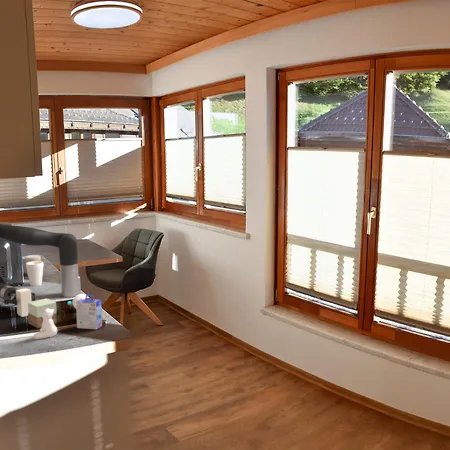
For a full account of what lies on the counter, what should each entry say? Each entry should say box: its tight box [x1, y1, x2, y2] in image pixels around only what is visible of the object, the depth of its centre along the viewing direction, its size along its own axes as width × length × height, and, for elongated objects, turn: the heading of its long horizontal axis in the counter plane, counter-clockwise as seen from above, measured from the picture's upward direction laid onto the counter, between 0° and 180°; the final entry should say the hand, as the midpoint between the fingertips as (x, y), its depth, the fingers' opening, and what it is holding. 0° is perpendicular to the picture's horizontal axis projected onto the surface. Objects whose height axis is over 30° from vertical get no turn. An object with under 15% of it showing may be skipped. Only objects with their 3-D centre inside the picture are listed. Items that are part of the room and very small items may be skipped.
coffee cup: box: [24, 254, 42, 276], centre depth 317 cm, size 9×9×12 cm
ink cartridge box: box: [75, 293, 103, 330], centre depth 223 cm, size 10×6×14 cm, turn 78°
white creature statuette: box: [33, 308, 58, 340], centre depth 213 cm, size 10×9×12 cm
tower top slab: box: [28, 297, 58, 318], centre depth 228 cm, size 9×9×5 cm
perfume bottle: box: [67, 293, 89, 309], centre depth 249 cm, size 8×8×12 cm
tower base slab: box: [27, 313, 58, 329], centre depth 229 cm, size 9×9×5 cm
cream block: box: [16, 287, 32, 317], centre depth 241 cm, size 5×5×12 cm
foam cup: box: [25, 260, 45, 287], centre depth 294 cm, size 10×9×13 cm
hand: (25, 301), depth 239 cm, fingers open, 8 cm apart
